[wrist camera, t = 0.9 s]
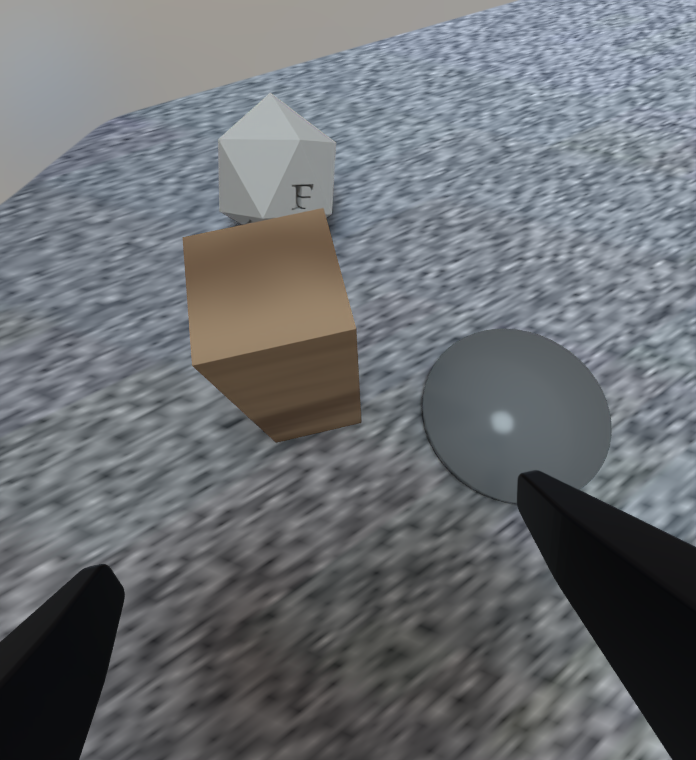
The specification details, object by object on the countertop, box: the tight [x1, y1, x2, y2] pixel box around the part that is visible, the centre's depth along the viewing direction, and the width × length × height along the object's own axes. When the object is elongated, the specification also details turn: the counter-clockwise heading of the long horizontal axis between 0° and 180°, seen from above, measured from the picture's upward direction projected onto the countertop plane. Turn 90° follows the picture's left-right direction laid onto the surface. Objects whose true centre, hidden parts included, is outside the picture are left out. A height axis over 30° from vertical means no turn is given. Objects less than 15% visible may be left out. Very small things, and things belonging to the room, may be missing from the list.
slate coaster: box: [422, 329, 611, 504], centre depth 23 cm, size 11×11×1 cm
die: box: [218, 93, 336, 225], centre depth 26 cm, size 8×9×10 cm
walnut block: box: [183, 208, 361, 443], centre depth 19 cm, size 6×6×12 cm
